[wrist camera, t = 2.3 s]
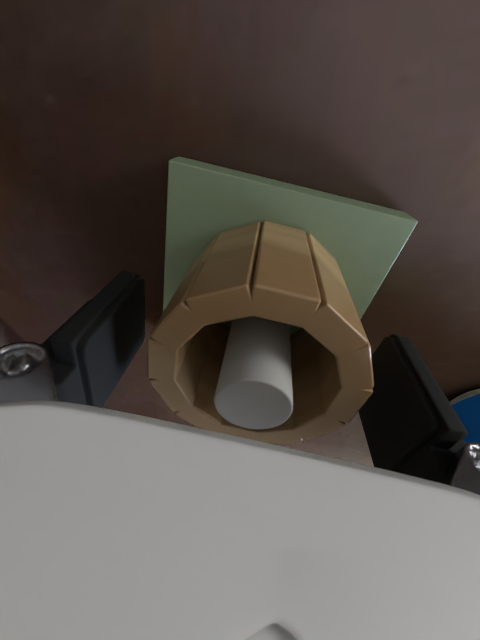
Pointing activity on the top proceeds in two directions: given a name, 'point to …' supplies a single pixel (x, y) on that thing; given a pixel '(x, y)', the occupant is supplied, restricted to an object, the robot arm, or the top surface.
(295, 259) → the ring
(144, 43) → the top surface
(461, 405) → the beverage can
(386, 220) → the post stand
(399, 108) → the top surface
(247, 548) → the robot arm
